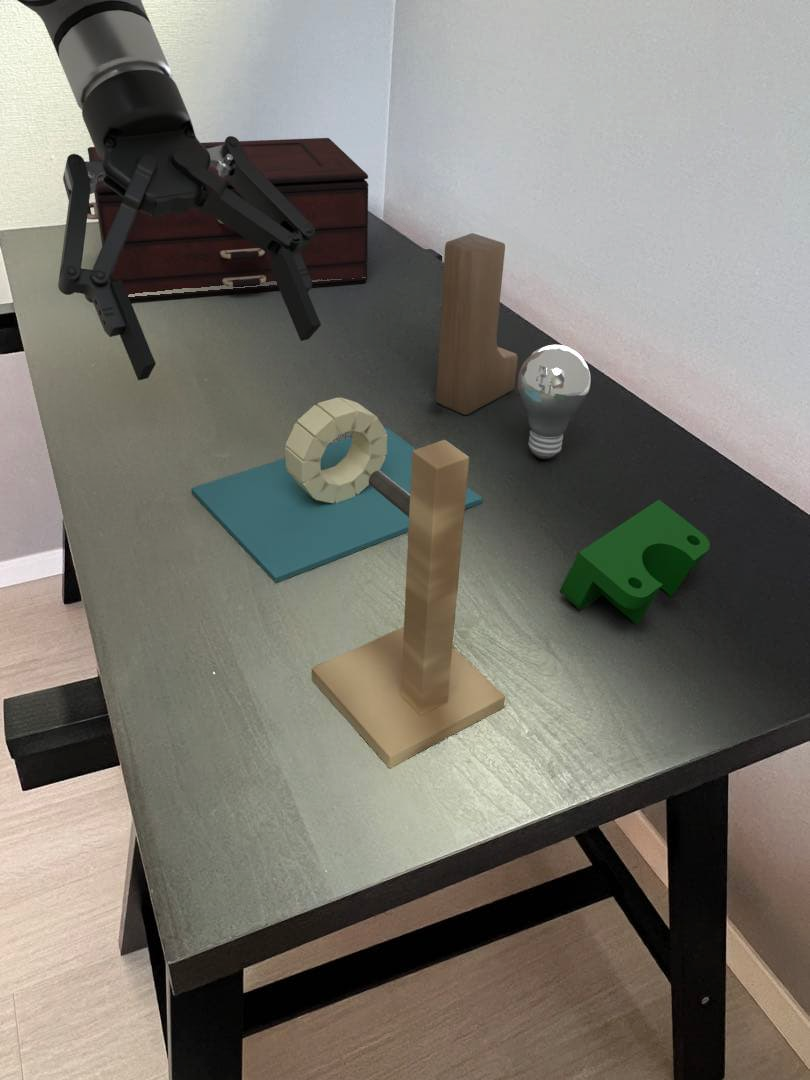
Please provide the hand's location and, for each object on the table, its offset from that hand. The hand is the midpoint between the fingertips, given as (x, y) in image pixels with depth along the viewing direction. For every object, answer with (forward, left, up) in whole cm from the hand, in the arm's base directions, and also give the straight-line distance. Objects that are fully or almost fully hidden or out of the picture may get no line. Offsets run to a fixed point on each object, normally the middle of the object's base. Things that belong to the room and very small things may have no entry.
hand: (232, 352), depth 71 cm
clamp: (+29, -14, -18) cm, 38 cm away
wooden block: (+29, +22, -18) cm, 41 cm away
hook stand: (+8, -20, -18) cm, 28 cm away
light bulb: (+31, +8, -18) cm, 37 cm away
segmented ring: (+9, +6, -18) cm, 21 cm away
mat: (+9, +6, -18) cm, 21 cm away
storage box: (+9, +66, -18) cm, 69 cm away
